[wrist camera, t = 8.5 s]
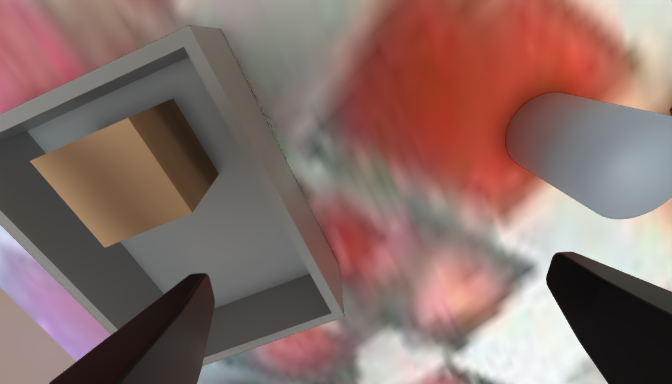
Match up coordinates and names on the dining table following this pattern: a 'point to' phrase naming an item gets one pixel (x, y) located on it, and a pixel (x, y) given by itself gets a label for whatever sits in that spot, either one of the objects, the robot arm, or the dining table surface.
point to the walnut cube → (131, 173)
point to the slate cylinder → (595, 152)
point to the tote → (188, 231)
